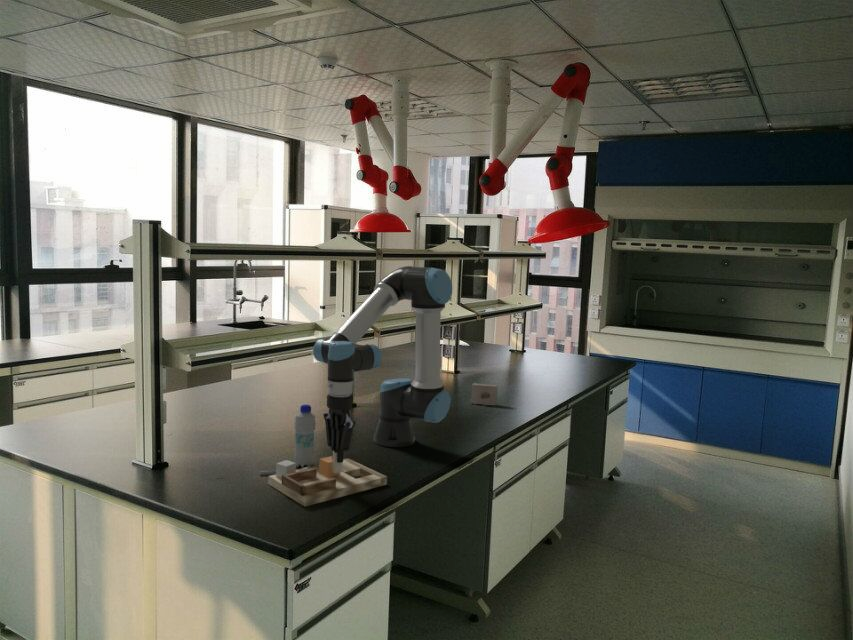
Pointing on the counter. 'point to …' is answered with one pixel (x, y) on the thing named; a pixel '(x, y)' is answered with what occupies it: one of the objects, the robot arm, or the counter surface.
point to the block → (285, 468)
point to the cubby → (294, 485)
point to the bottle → (304, 437)
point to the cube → (326, 467)
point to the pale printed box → (484, 394)
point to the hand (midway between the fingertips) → (337, 471)
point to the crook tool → (268, 472)
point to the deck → (343, 483)
